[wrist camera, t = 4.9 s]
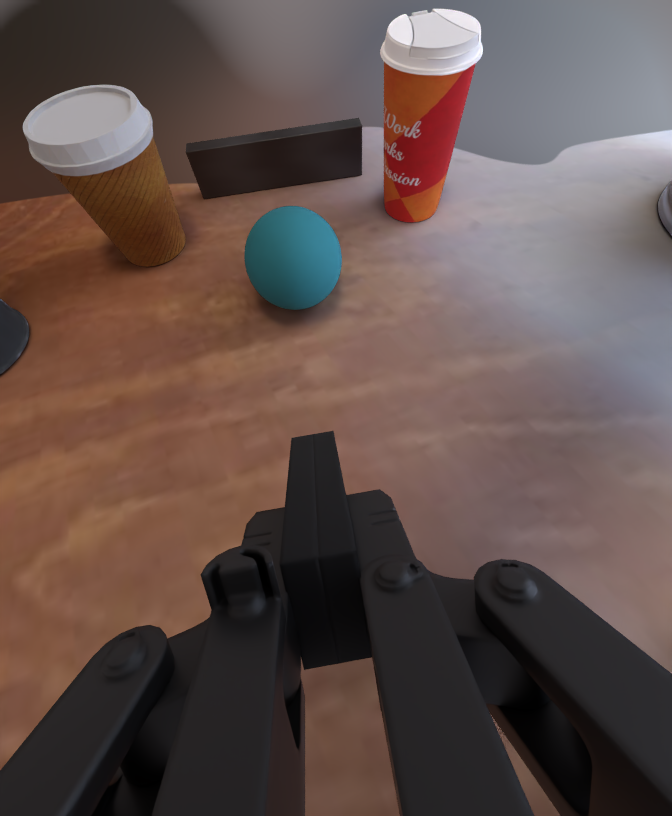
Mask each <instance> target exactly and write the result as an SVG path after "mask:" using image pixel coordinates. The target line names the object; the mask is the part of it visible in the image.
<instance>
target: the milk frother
mask: <svg viewBox="0 0 672 816" xmlns="http://www.w3.org/2000/svg"><path fill="white" fill-rule="evenodd" d="M28 338H29V326H28V322H27V320H26V319H25V317H24V316H23V315H22V314H21V313H20V312H18V311H17V310H15V309H13V308H11V307H9V306H8V305H7V304H6V303H5V302H3V301H2V300H1V299H0V374H1V373H3V372H4V371H5V370H7V369H8V368H9V367H10V366H11V365H12V364H13V363H14V362H15V361H16V360H17V359H18V357H19V356H20V354H21V352H22V351H23V350H24V348H25V346H26V344H27V341H28Z"/></svg>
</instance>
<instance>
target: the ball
mask: <svg viewBox="0 0 672 816" xmlns="http://www.w3.org/2000/svg"><path fill="white" fill-rule="evenodd" d="M341 264H342V255H341V248H340V245H339V241H338V239H337V236H336V234H335V233H334V231H333V229H332V228H331V226H330V225H329V224H328V223H327V222H326V221H325V220H324V219H323V218H322V217H321V216H319V215H318V214H316V213H315V212H313V211H311V210H309V209H306V208H303V207H298V206H285V207H280V208H276V209H274V210H272V211H270V212H268V213H266V214H265V215H264V216H262V217H261V218H260V219H259V220H258V221H257V222H256V224H255V225H254V226H253V228H252V229H251V231H250V233H249V236H248V238H247V241H246V246H245V266H246V270H247V274H248V276H249V279H250V281H251V283H252V284H253V286H254V288H255V289H256V290H257V292H258V293H259V294H260V295H261V296H262V297H263V298H264V299H266V300H267V301H269V302H270V303H272V304H274V305H276V306H278V307H281V308H284V309H291V310H300V309H306V308H309V307H312V306H314V305H316V304H318V303H320V302H321V301H322V300H324V299H325V298H326V297H327V296H328V295H329V294H330V293H331V291H332V290H333V288H334V287H335V285H336V283H337V281H338V278H339V276H340V271H341Z"/></svg>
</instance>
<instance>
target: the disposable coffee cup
mask: <svg viewBox="0 0 672 816" xmlns="http://www.w3.org/2000/svg"><path fill="white" fill-rule="evenodd" d="M23 131H24V134H25V136H26V138H27V140H28V142H29V150H30V153H31V155H32V156H33V158H34V159H35V160H36V161H38V162H39V163H41V164H42V165H43V166H44V167H45V168H46V169H48V170H50V171H52V172H53V174H54V175H55V176H56V177H57V178H58V179H59V181H60V182H61V183H62V184H63V185H64V186H65V187H66V188H67V190H68V191H69V192H70V193H71V194H72V196H73V197H74V198H75V199H76V200H77V201H78V202H79V204H80V205H81V206H82V207H83V208H84V209H85V210H86V212H87V213H88V214H89V215H90V216H91V218H92V219H93V220H94V221H95V222H96V223H97V224H98V226H99V227H100V228H101V229H102V230H103V231H104V232H105V234H106V235H107V236H108V237H109V238H110V239H111V241H112V242H113V243H114V244H115V245H116V246H117V247H118V248H119V250H120V251H121V252H122V253H123V254H124V256H125V257H126V258H127V259H128V260H129V261H130V262H131V263H133V264H135V265H138V266H146V267H147V266H156V265H160V264H163V263H165V262H167V261H169V260H171V259H173V258H174V257H175V256H177V255H178V254H179V253H180V252H181V250H182V249H183V247H184V245H185V240H186V239H185V235H184V232H183V229H182V226H181V223H180V219H179V216H178V213H177V210H176V207H175V204H174V200H173V197H172V194H171V191H170V188H169V185H168V182H167V178H166V176H165V172H164V169H163V166H162V163H161V160H160V157H159V154H158V150H157V148H156V144H155V141H154V138H153V128H152V118H151V115H150V113H149V111H148V110H147V109H146V108H145V107H143V106H142V105H141V104H140V102H139V101H138V99H137V98H136V96H135V95H134V94H133V93H132V92H131V91H130V90H128V89H125V88H123V87H119V86H114V85H93V86H86V87H80V88H76V89H73V90H69V91H66V92H63V93H61V94H58V95H55V96H53V97H51V98H49V99H48V100H46V101H44V102H42V103H41V104H39V105H38V106H37V107H35V108H34V109H33V110H32V111H31V112H30V113H29V115H28V116H27V118H26V120H25V121H24V123H23Z"/></svg>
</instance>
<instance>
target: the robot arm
mask: <svg viewBox="0 0 672 816" xmlns="http://www.w3.org/2000/svg"><path fill="white" fill-rule="evenodd" d="M658 211H659V215H660V218H661V220H662V223H663V224H664V226H665V228H666V229H667V230H668V232H669V233H670V234H671V235H672V180H671V181H670V183H669V184H668V186H667V187H666V188H665V190H664V191H663V193H662V194H661V196H660V198H659V203H658ZM201 577H202V581H203V584H204V587H205V590H206V593H207V596H208V600H209V603H210V606H211V609H212V611H211V615H210V617H209V618H208V619H207V620H205V621H204V622H202V623H200V624H198V625H197V626H195V627H193V628H191V629H188V630H186V631H184V632H182V633H179V634H177V635H175V636H173V637H170V638H168V639H167V637H166V634H165V633H164V632H163V631H162V630H161V628H159V627H155V626H151V625H146V626H140V627H135V628H133V629H130V630H128V631H125V632H123V633H121V634H119V635H118V636H116V637H115V638H113V639H112V640H110V641H109V642H107V643H106V644H105V645H104V646H103V647H102V648H101V649H100V650H99V651H98V652H97V653H96V654H95V655H94V656H93V657H92V658H91V659H90V661H89V662H88V663H87V664H86V666H85V667H84V668H83V669H82V671H81V672H80V673H79V674H78V675H77V677H76V678H75V679H74V680H73V682H72V683H71V684H70V685H69V687H68V688H67V689H66V690H65V691H64V693H63V694H62V695H61V696H60V698H59V699H58V700H57V701H56V703H55V704H54V705H53V706H52V708H51V709H50V710H49V711H48V712H47V714H46V715H45V716H44V717H43V719H42V720H41V721H40V722H39V724H38V725H37V726H36V727H35V728H34V730H33V731H32V732H31V733H30V735H29V736H28V737H27V738H26V740H25V741H24V742H23V743H22V745H21V746H20V747H19V748H18V749H17V751H16V752H15V753H14V754H13V756H12V757H11V758H10V759H9V761H8V762H7V763H6V764H5V765H4V767H3V768H2V769H1V770H0V816H305V695H304V690H303V685H302V681H301V658H302V662H303V667H304V670H306V669H311V668H316V667H322V666H327V665H333V664H338V663H343V662H349V661H354V660H359V659H365V658H370V657H372V659H373V664H374V671H375V677H376V683H377V689H378V695H379V702H380V708H381V711H382V717H383V722H384V728H385V734H386V739H387V745H388V751H389V756H390V762H391V768H392V773H393V779H394V784H395V790H396V796H397V801H398V807H399V813H400V816H534V814H533V812H532V810H531V807H530V805H529V803H528V800H527V798H526V796H525V793H524V791H523V789H522V786H521V784H520V782H519V780H518V777H517V775H516V773H515V770H514V768H513V766H512V763H511V761H510V759H509V756H508V754H507V752H506V750H505V747H504V745H503V743H502V740H501V738H500V736H499V733H498V731H497V729H496V726H495V724H494V722H493V720H492V717H493V718H494V719H495V721H496V722H497V724H498V725H499V727H500V728H501V730H502V731H503V732H504V734H505V735H506V737H507V738H508V740H509V741H510V743H511V744H512V746H513V747H514V748H515V750H516V751H517V753H518V754H519V756H520V757H521V759H522V760H523V761H524V763H525V764H526V766H527V767H528V769H529V770H530V772H531V773H532V775H533V776H534V777H535V779H536V780H537V782H538V783H539V785H540V786H541V788H542V789H543V790H544V792H545V793H546V795H547V796H548V798H549V799H550V801H551V802H552V804H553V805H554V806H555V808H556V809H557V811H558V812H559V814H560V815H561V816H672V674H671V673H670V672H669V671H667V670H666V669H665V668H664V667H662V666H661V665H660V664H658V663H657V662H656V661H655V660H653V659H652V658H651V657H650V656H648V655H647V654H646V653H645V652H643V651H642V650H641V649H640V648H638V647H637V646H636V645H635V644H633V643H632V642H631V641H630V640H628V639H627V638H626V637H625V636H623V635H622V634H621V633H619V632H618V631H617V630H616V629H614V628H613V627H612V626H611V625H609V624H608V623H607V622H606V621H604V620H603V619H602V618H601V617H599V616H598V615H597V614H596V613H594V612H593V611H592V610H591V609H589V608H588V607H587V606H585V605H584V604H583V603H582V602H580V601H579V600H578V599H577V598H575V597H574V596H573V595H572V594H570V593H569V592H568V591H567V590H565V589H564V588H563V587H562V586H560V585H559V584H558V583H557V582H555V581H554V580H553V579H552V578H550V577H549V576H548V575H546V574H545V573H544V572H542V571H541V570H539V569H537V568H536V567H534V566H532V565H530V564H527V563H524V562H520V561H517V560H505V559H500V560H495V561H491V562H488V563H486V564H484V565H483V566H481V567H480V568H479V569H478V571H477V572H476V574H475V576H474V580H469V579H456V578H449V577H443V576H440V575H437V574H434V573H432V572H430V571H429V570H427V569H426V567H425V566H424V565H423V563H422V562H420V561H419V560H417V559H416V557H415V555H414V553H413V550H412V548H411V545H410V543H409V540H408V538H407V536H406V533H405V531H404V528H403V526H402V523H401V521H400V520H399V516H398V514H397V511H396V509H395V507H394V504H393V502H392V499H391V497H389V496H388V495H387V494H385V493H384V492H383V491H381V490H380V489H379V490H373V491H368V492H362V493H356V494H350V495H346V493H345V488H344V483H343V478H342V473H341V468H340V462H339V457H338V452H337V447H336V442H335V437H334V432H333V431H330V432H324V433H318V434H312V435H306V436H300V437H295V438H292V440H291V450H290V460H289V470H288V481H287V491H286V501H285V507H283V508H277V509H272V510H266V511H260V512H256V514H255V515H254V516H253V517H252V518H251V520H250V521H249V522H248V523H247V525H246V529H245V533H244V539H243V541H242V545H241V546H239V547H235V548H232V549H229V550H227V551H225V552H223V553H221V554H219V555H218V556H216V557H215V558H214V559H213V560H212V561H211V562H209V563H208V564H207V565H206V567H205V568H204V570H203V572H202V573H201ZM489 712H490V713H489ZM490 714H491V715H492V717H491V715H490Z"/></svg>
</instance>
